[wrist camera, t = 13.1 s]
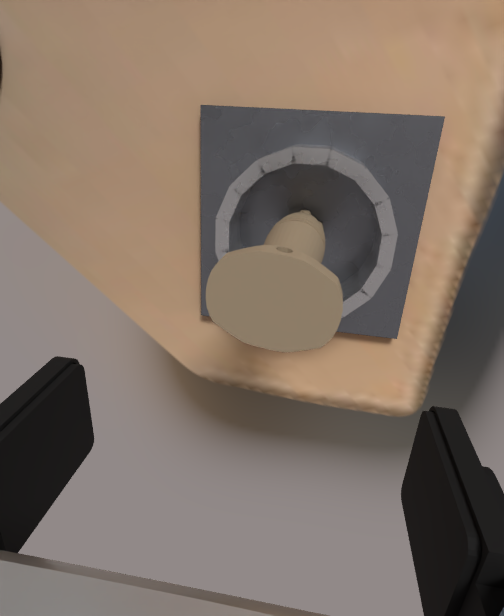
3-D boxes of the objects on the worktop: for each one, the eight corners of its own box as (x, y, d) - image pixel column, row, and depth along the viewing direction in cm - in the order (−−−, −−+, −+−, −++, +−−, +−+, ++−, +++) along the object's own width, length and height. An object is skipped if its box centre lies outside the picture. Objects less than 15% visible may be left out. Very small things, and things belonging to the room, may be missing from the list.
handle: (335, 266, 33) (327, 364, 20) (257, 249, 34) (200, 332, 21) (351, 207, 31) (354, 271, 18) (268, 190, 32) (212, 239, 19)
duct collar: (204, 310, 38) (187, 335, 34) (204, 105, 31) (182, 102, 27) (395, 333, 36) (404, 363, 32) (441, 116, 29) (461, 115, 25)
